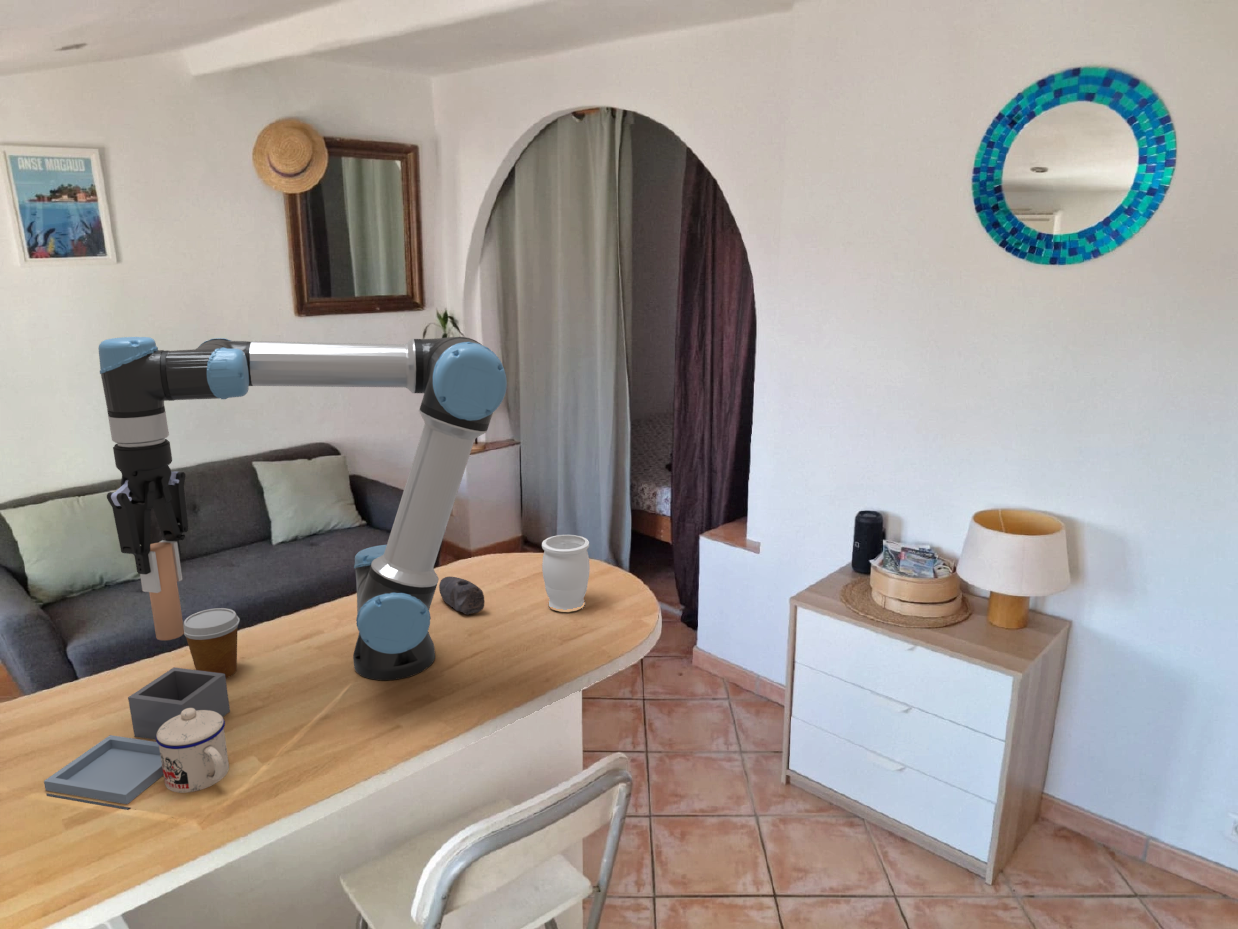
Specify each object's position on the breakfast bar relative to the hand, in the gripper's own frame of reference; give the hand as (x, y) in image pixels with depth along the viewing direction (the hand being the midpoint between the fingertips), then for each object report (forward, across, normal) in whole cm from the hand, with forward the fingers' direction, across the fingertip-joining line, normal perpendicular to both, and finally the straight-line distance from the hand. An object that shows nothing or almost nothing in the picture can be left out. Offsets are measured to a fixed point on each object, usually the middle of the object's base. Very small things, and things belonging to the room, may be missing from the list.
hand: (163, 585), depth 131 cm
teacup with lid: (+26, +12, +13) cm, 31 cm away
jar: (+26, -61, +48) cm, 82 cm away
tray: (+26, +14, 0) cm, 29 cm away
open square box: (+26, 0, 0) cm, 26 cm away
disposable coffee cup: (+26, -16, -6) cm, 31 cm away
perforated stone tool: (+26, -55, +25) cm, 66 cm away
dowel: (+9, 0, 0) cm, 9 cm away
